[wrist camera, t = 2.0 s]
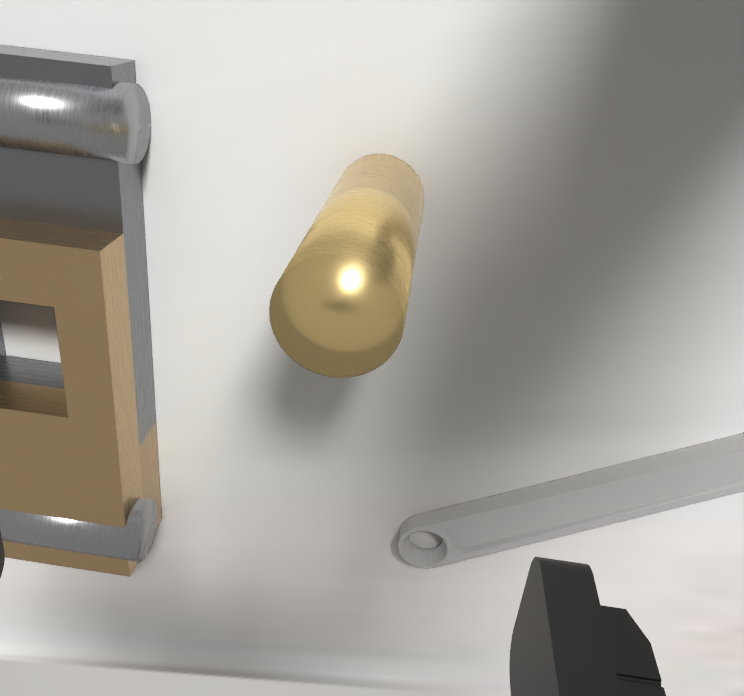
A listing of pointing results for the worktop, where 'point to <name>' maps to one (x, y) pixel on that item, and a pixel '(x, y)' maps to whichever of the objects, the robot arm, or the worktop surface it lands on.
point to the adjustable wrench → (578, 503)
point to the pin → (352, 272)
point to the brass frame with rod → (77, 313)
